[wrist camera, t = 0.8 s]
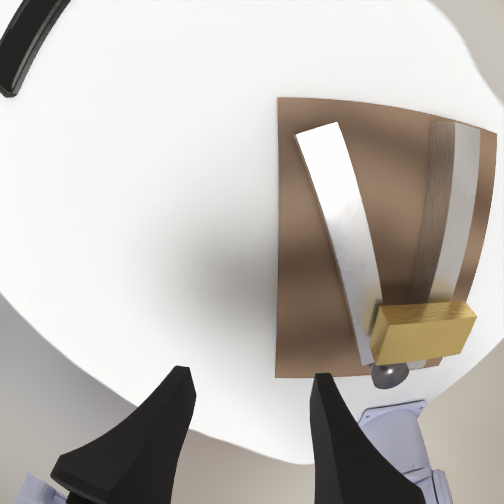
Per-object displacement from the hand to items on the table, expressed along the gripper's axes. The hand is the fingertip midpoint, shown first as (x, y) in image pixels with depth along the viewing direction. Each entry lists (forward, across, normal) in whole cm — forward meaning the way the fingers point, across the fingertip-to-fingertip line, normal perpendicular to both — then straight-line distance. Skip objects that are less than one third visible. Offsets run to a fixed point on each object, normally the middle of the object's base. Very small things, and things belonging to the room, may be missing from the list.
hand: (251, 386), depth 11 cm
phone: (+10, +20, -25) cm, 34 cm away
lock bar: (+5, -10, +1) cm, 11 cm away
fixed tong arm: (+8, -10, -2) cm, 13 cm away
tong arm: (+8, -5, -3) cm, 10 cm away
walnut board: (+9, -9, -2) cm, 13 cm away
